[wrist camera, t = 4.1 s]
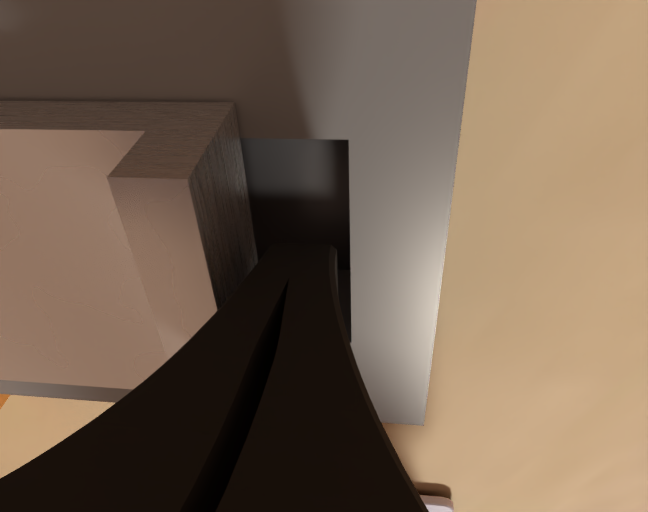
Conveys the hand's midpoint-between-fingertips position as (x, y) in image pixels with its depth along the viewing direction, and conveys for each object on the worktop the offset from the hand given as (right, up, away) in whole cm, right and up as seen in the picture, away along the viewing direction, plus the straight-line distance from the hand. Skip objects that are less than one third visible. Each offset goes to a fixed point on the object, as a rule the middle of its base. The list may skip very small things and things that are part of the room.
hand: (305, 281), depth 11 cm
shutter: (-5, +1, +1) cm, 5 cm away
